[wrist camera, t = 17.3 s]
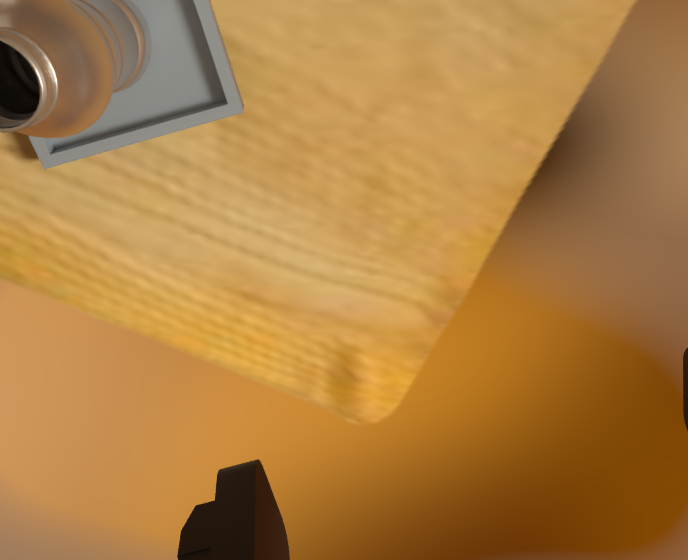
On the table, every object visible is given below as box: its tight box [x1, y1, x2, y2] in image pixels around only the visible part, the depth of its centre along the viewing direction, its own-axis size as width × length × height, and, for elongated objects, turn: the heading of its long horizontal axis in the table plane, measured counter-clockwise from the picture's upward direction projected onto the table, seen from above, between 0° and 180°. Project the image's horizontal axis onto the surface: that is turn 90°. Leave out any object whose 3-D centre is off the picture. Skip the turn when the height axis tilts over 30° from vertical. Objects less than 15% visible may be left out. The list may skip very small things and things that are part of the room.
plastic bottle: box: [0, 0, 151, 139], centre depth 33 cm, size 6×7×20 cm
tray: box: [28, 0, 244, 169], centre depth 42 cm, size 14×14×2 cm
